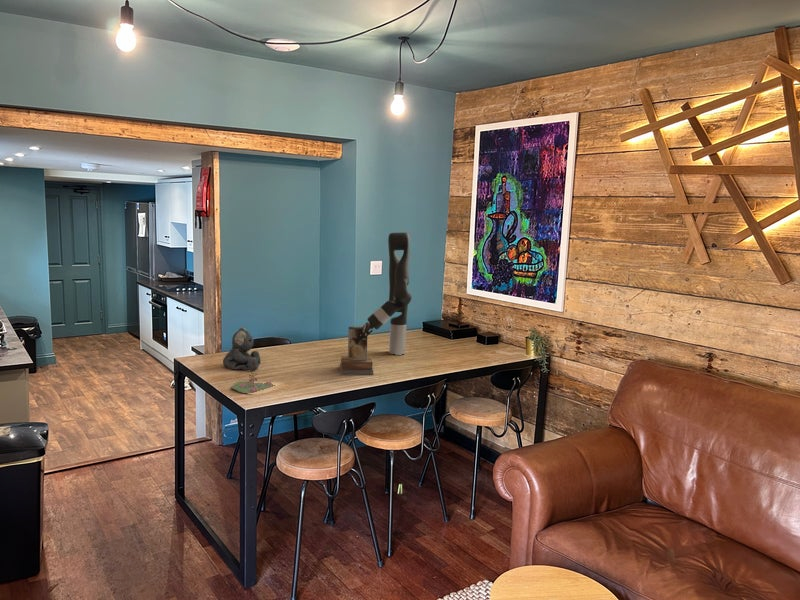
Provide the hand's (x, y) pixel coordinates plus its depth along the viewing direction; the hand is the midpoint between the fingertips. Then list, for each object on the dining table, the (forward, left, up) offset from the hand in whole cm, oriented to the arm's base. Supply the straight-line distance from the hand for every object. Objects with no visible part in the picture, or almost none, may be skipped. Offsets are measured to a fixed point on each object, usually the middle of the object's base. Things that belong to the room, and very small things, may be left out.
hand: (354, 340), depth 299 cm
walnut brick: (0, +1, -14) cm, 14 cm away
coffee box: (0, +1, -10) cm, 10 cm away
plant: (+29, -44, -16) cm, 55 cm away
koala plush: (-5, -56, -16) cm, 58 cm away
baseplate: (0, +1, -16) cm, 16 cm away
